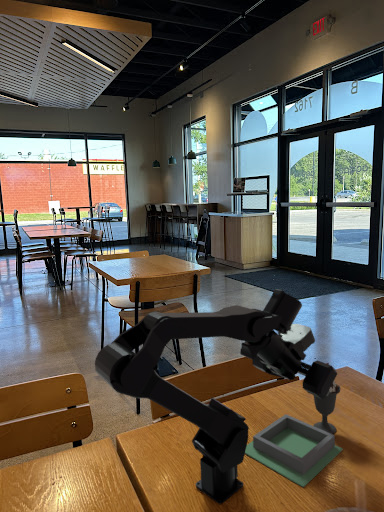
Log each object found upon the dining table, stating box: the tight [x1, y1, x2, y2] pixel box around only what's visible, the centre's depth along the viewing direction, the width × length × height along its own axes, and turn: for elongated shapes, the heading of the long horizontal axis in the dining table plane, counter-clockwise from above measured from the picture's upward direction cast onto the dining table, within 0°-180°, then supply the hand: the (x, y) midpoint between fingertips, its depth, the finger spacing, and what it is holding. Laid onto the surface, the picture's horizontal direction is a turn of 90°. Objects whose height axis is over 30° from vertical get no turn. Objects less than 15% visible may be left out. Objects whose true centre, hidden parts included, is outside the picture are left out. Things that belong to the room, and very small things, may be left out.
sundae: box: [313, 362, 341, 435], centre depth 86 cm, size 7×7×15 cm
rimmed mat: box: [245, 413, 344, 488], centre depth 79 cm, size 15×15×3 cm
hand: (310, 385), depth 83 cm, fingers open, 9 cm apart
